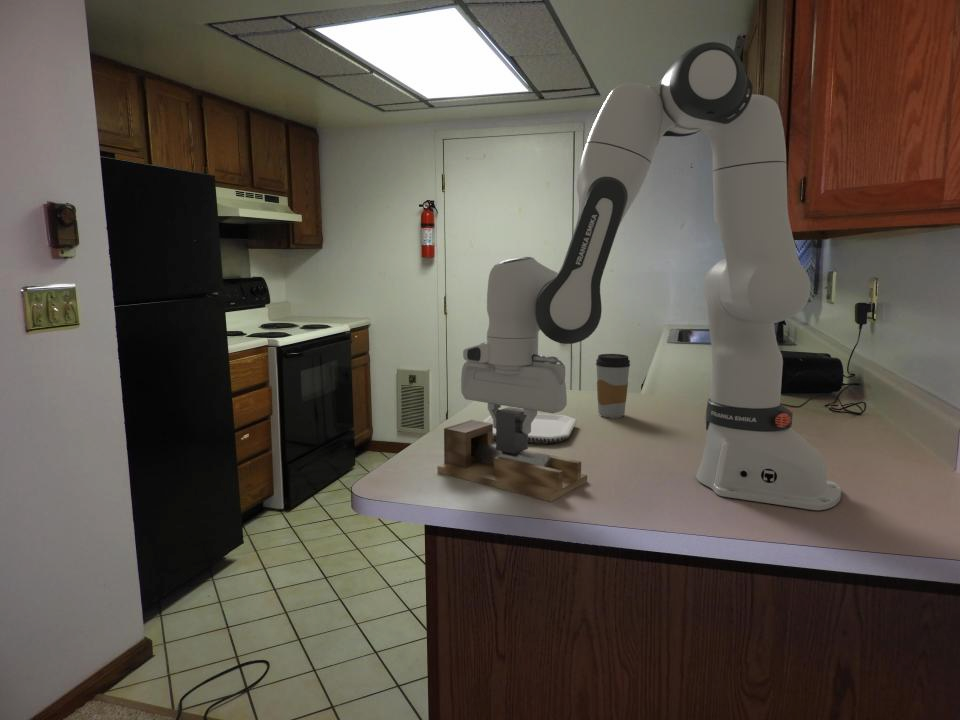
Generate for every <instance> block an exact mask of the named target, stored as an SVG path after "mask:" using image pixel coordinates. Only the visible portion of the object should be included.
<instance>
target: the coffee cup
mask: <svg viewBox="0 0 960 720" xmlns="http://www.w3.org/2000/svg"><path fill="white" fill-rule="evenodd" d="M595 361H596V363H595V365H596V390H597V391H596V392H597V395H596V396H597V398H596V399H597V409H598V410H597V411H598V414H599V416H600V415H601V416H600V417H602V416H603V417H602V418H606V417H610V418H609V419H620V418H623V417H624V415H625V413H626V402H627V396H628V395H627V394H628V385H629V372H630V367H631V363H630V362H631V360H630V359H629V356H628V355H627V354H621V353H601V354H598V356H597V359H596V360H595ZM622 416H623V417H622ZM619 417H620V418H619Z"/></svg>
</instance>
